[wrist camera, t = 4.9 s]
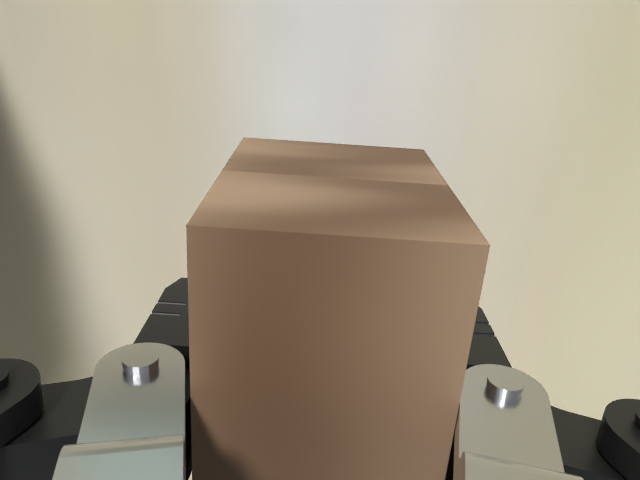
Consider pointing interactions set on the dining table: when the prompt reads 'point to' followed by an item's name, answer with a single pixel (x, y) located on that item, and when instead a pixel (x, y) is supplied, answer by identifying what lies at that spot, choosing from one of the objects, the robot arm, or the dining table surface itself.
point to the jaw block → (329, 314)
